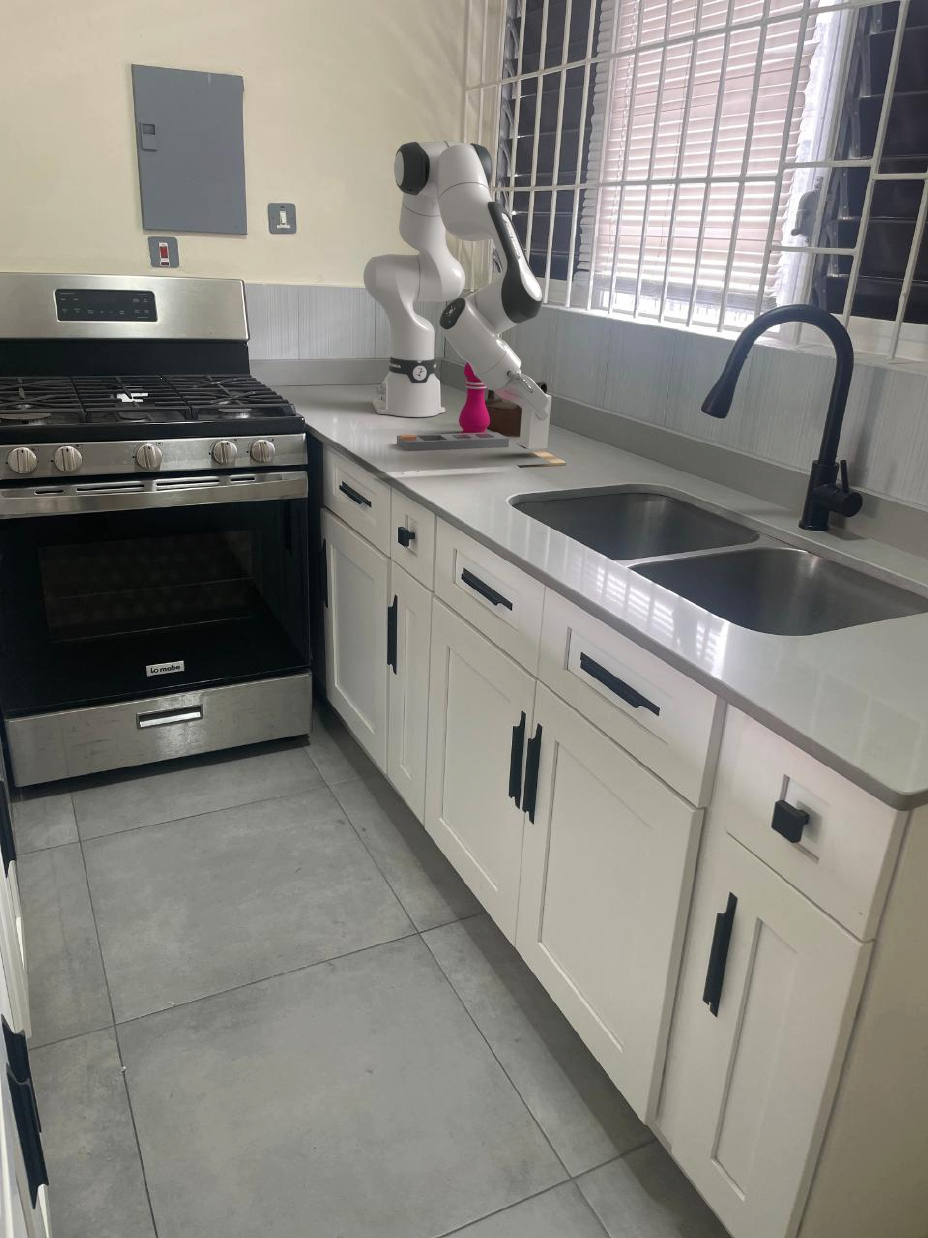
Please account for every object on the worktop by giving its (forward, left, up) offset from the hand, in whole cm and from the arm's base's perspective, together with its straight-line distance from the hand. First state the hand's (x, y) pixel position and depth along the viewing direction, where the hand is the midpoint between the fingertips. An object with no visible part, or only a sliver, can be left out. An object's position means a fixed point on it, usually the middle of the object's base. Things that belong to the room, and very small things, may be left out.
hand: (538, 415), depth 199 cm
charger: (0, -1, -7) cm, 7 cm away
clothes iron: (-28, +6, -10) cm, 30 cm away
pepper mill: (-22, -6, -10) cm, 25 cm away
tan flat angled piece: (0, -1, -10) cm, 10 cm away
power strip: (-12, -11, -10) cm, 19 cm away
